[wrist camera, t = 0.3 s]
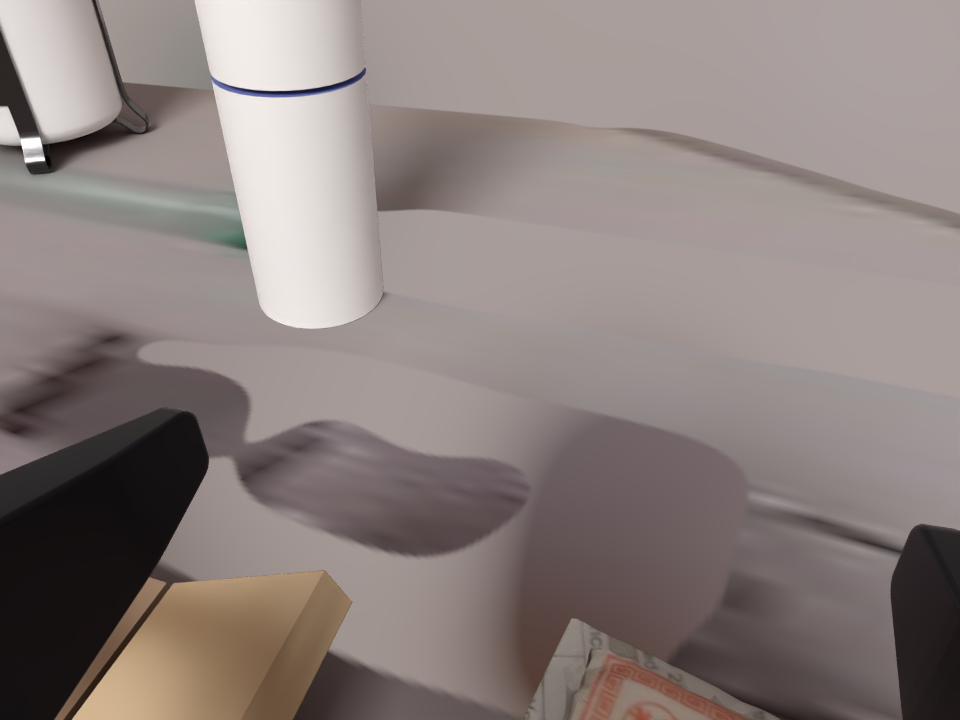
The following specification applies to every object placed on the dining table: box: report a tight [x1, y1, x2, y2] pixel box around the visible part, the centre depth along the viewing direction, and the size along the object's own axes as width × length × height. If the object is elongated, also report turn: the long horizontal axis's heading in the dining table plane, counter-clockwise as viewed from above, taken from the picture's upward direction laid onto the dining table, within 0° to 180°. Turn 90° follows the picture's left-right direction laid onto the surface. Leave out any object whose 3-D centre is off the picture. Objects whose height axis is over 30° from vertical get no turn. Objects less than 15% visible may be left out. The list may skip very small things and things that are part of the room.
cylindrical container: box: [195, 0, 383, 329], centre depth 33 cm, size 7×7×25 cm
